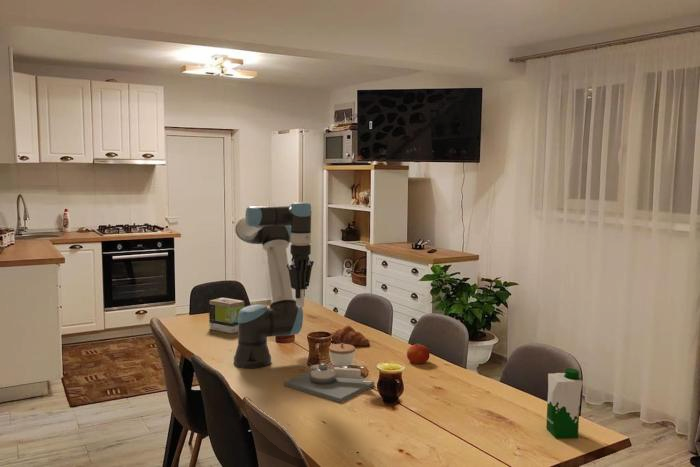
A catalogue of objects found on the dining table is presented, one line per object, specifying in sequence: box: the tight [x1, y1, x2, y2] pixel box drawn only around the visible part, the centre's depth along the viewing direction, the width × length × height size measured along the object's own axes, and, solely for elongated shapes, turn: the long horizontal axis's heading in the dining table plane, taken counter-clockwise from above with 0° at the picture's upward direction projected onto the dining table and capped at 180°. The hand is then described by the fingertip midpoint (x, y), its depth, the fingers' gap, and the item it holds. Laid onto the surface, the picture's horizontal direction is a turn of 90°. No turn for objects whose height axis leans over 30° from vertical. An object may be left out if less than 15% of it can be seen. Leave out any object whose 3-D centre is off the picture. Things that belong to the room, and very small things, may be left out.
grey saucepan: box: [308, 362, 368, 384], centre depth 222 cm, size 22×10×6 cm, turn 82°
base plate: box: [283, 371, 375, 403], centre depth 221 cm, size 26×21×2 cm
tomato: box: [406, 343, 431, 364], centre depth 250 cm, size 9×9×8 cm
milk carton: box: [545, 368, 584, 439], centre depth 184 cm, size 9×9×20 cm
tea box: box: [208, 297, 245, 334], centre depth 295 cm, size 15×10×15 cm, turn 58°
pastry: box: [330, 325, 371, 347], centre depth 277 cm, size 17×15×8 cm
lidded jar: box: [328, 343, 356, 367], centre depth 244 cm, size 11×11×9 cm
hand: (300, 306), depth 224 cm, fingers closed
